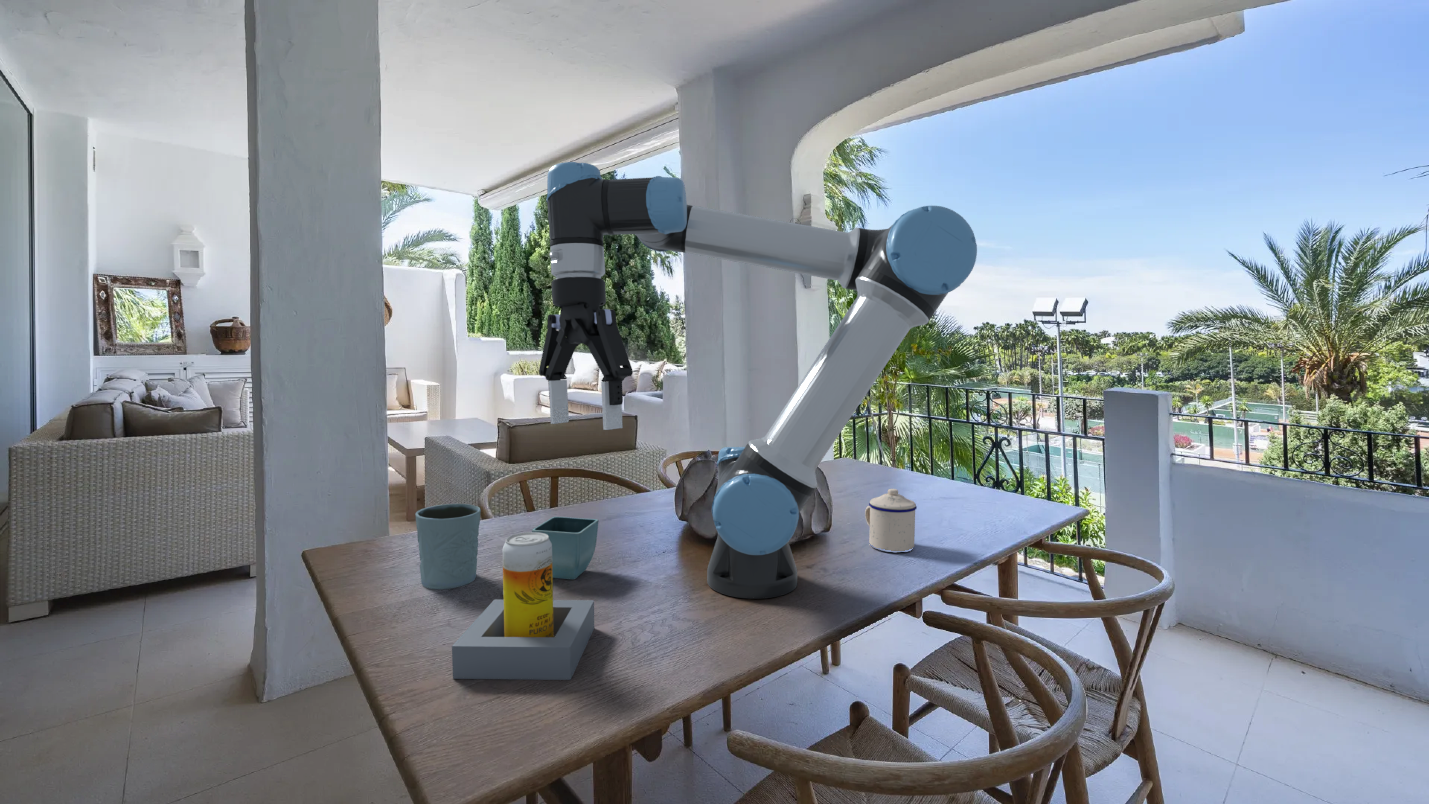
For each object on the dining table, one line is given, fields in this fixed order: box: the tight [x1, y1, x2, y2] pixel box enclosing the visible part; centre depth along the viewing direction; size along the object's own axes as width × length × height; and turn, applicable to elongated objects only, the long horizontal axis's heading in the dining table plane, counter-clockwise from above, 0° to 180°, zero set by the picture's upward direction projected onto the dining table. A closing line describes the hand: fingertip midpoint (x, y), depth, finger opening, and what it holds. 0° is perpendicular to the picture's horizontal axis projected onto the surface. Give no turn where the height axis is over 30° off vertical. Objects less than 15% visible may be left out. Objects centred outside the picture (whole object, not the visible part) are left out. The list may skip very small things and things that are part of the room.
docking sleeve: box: [451, 598, 595, 681], centre depth 82 cm, size 14×14×4 cm
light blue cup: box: [414, 503, 482, 590], centre depth 106 cm, size 10×10×12 cm
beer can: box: [502, 531, 555, 637], centre depth 81 cm, size 6×6×15 cm
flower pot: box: [531, 516, 600, 580], centre depth 109 cm, size 9×9×9 cm
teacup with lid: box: [864, 488, 918, 551], centre depth 127 cm, size 12×9×12 cm
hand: (585, 426), depth 92 cm, fingers open, 13 cm apart
